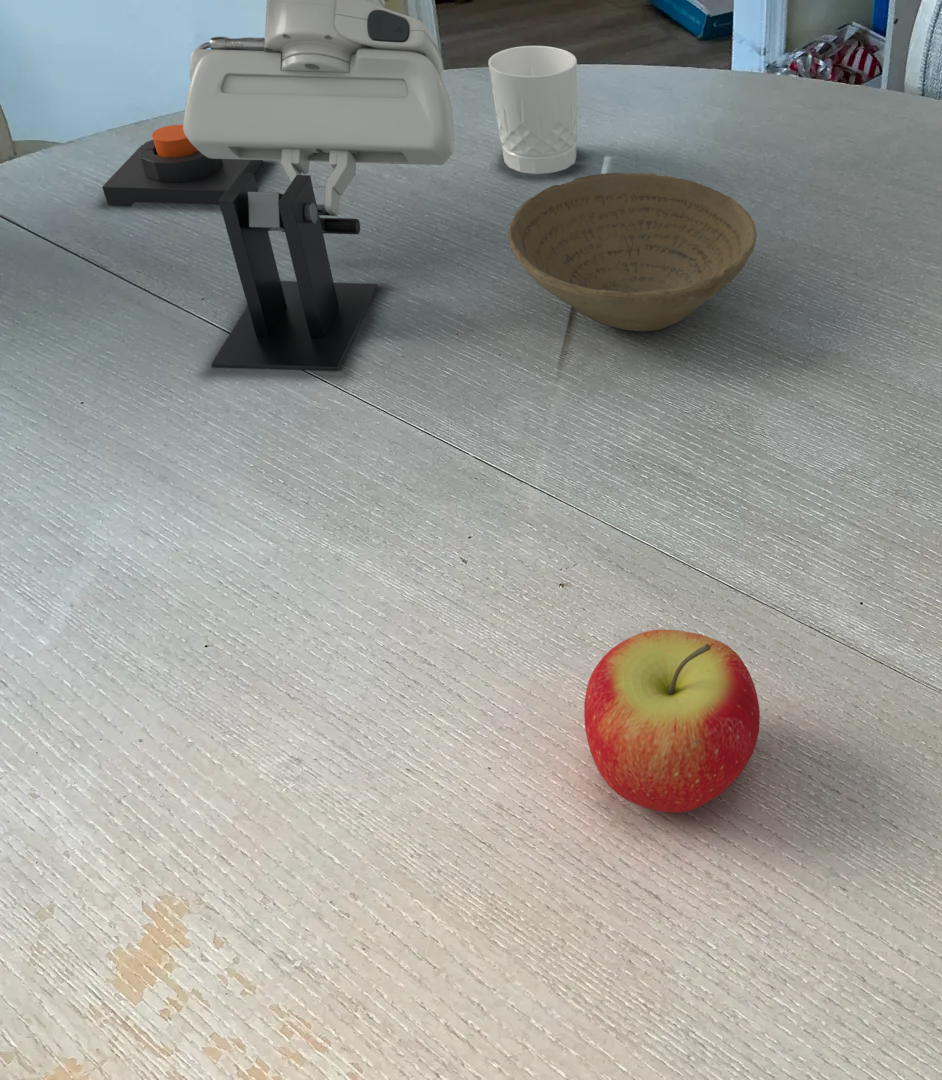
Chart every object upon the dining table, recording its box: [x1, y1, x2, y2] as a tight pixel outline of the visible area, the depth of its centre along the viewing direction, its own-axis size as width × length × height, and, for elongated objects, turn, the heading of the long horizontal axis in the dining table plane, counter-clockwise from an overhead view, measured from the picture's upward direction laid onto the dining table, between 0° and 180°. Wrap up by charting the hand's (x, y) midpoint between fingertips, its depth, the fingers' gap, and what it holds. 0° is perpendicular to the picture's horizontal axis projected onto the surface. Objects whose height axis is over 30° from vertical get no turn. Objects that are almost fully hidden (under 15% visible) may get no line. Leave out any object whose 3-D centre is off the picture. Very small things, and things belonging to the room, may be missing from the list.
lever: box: [248, 191, 361, 235], centre depth 87 cm, size 12×6×2 cm
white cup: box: [487, 45, 579, 175], centre depth 109 cm, size 8×8×10 cm
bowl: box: [507, 172, 758, 332], centre depth 89 cm, size 18×18×8 cm
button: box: [151, 124, 198, 157], centre depth 104 cm, size 4×4×2 cm
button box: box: [101, 139, 265, 207], centre depth 106 cm, size 11×9×4 cm
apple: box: [583, 629, 761, 813], centre depth 56 cm, size 8×8×10 cm
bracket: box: [211, 173, 379, 372], centre depth 85 cm, size 12×9×12 cm
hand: (316, 213), depth 91 cm, fingers closed, pressing on lever
